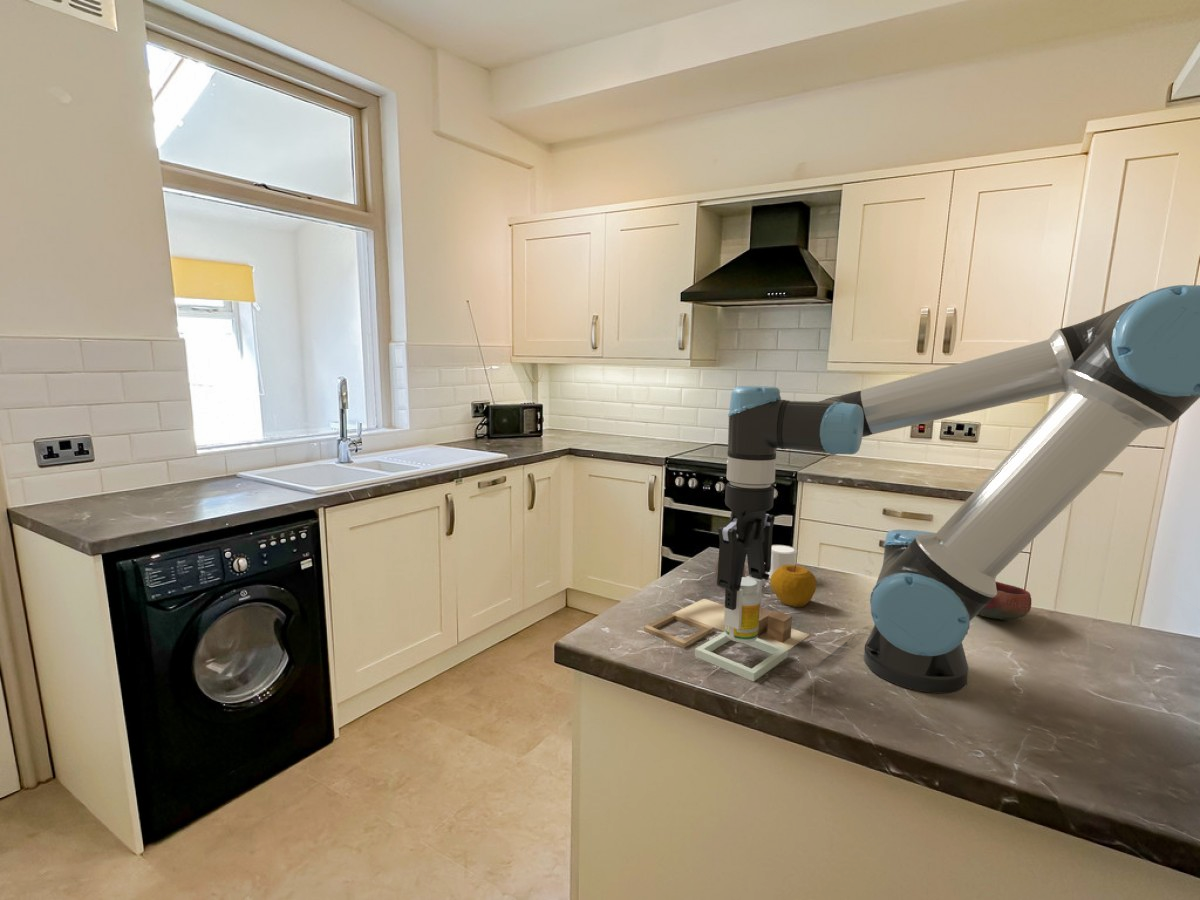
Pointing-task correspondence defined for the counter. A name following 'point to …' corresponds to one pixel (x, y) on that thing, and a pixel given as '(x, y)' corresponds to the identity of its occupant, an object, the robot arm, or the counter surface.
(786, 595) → the apple
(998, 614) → the bowl
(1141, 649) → the counter surface
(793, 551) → the white cylinder
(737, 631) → the supplement bottle
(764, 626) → the walnut block
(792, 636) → the board
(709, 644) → the tray
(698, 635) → the oak collar
